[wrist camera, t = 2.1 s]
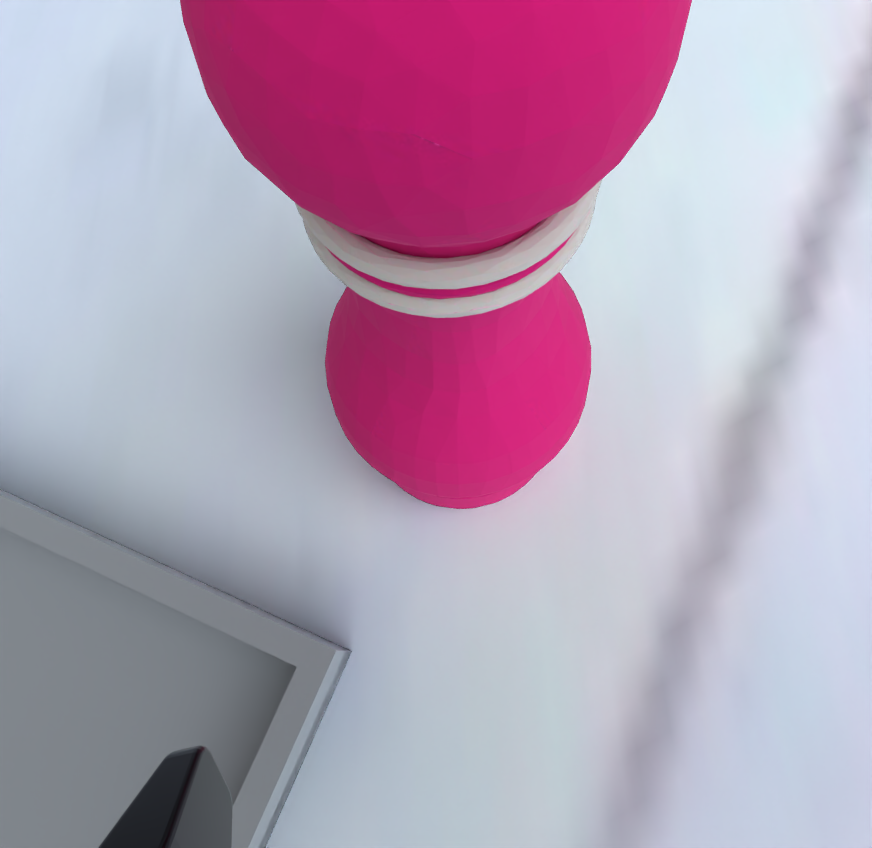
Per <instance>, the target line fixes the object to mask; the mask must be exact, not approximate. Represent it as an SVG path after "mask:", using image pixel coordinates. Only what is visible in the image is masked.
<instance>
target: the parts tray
mask: <svg viewBox="0 0 872 848" xmlns="http://www.w3.org/2000/svg"><path fill="white" fill-rule="evenodd" d="M351 652H352V651H350V650H348V649H346V648H343V647H341V646H339V645H337V644H335V643H333V642H330V641H328V640H326V639H324V638H322V637H320V636H317V635H315V634H313V633H311V632H309V631H307V630H304V629H302V628H300V627H298V626H296V625H294V624H291V623H289V622H287V621H285V620H283V619H281V618H278V617H276V616H274V615H272V614H270V613H268V612H265V611H263V610H261V609H259V608H257V607H255V606H252V605H250V604H248V603H246V602H244V601H242V600H239V599H237V598H235V597H233V596H231V595H229V594H226V593H224V592H222V591H220V590H218V589H216V588H213V587H211V586H209V585H207V584H205V583H203V582H200V581H198V580H196V579H194V578H192V577H190V576H187V575H185V574H183V573H181V572H179V571H177V570H174V569H172V568H170V567H168V566H166V565H164V564H161V563H159V562H157V561H155V560H153V559H151V558H148V557H146V556H144V555H142V554H140V553H138V552H135V551H133V550H131V549H129V548H127V547H125V546H122V545H120V544H118V543H116V542H114V541H112V540H109V539H107V538H105V537H103V536H101V535H99V534H96V533H94V532H92V531H90V530H88V529H86V528H83V527H81V526H79V525H77V524H75V523H73V522H70V521H68V520H66V519H64V518H62V517H60V516H57V515H55V514H53V513H51V512H49V511H47V510H45V509H42V508H40V507H38V506H36V505H34V504H32V503H29V502H27V501H25V500H23V499H21V498H19V497H16V496H14V495H12V494H10V493H8V492H6V491H3V490H1V489H0V848H98V847H99V845H100V844H101V843H102V841H103V840H104V839H105V837H106V836H107V835H108V833H109V832H110V831H111V829H112V828H113V827H114V825H115V824H116V822H117V821H118V820H119V818H120V817H121V816H122V814H123V813H124V812H125V810H126V809H127V808H128V806H129V805H130V804H131V802H132V801H133V800H134V798H135V797H136V795H137V794H138V793H139V791H140V790H141V789H142V787H143V786H144V785H145V783H146V782H147V781H148V779H149V778H150V777H151V775H152V774H153V772H154V771H155V770H156V768H157V767H158V766H159V764H160V763H161V762H162V760H163V759H164V758H165V757H166V756H167V755H168V754H169V753H171V752H173V751H177V750H181V749H185V748H190V747H194V746H198V745H203V746H206V747H207V748H208V749H209V750H210V752H211V753H212V756H213V758H214V760H215V762H216V764H217V766H218V768H219V770H220V772H221V774H222V776H223V778H224V780H225V782H226V784H227V786H228V788H229V790H230V794H231V798H232V807H233V818H232V848H265V847H266V844H267V842H268V840H269V837H270V835H271V833H272V831H273V828H274V826H275V824H276V822H277V819H278V817H279V815H280V813H281V810H282V808H283V806H284V804H285V801H286V799H287V797H288V794H289V792H290V790H291V788H292V785H293V783H294V781H295V779H296V776H297V774H298V772H299V770H300V767H301V765H302V763H303V760H304V758H305V756H306V754H307V751H308V749H309V747H310V745H311V742H312V740H313V738H314V736H315V733H316V731H317V729H318V726H319V724H320V722H321V720H322V717H323V715H324V713H325V711H326V708H327V706H328V704H329V702H330V699H331V697H332V695H333V692H334V690H335V688H336V686H337V683H338V681H339V679H340V677H341V674H342V672H343V670H344V668H345V665H346V663H347V661H348V658H349V656H350V654H351Z"/></svg>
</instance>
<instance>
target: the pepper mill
mask: <svg viewBox="0 0 872 848" xmlns="http://www.w3.org/2000/svg"><path fill="white" fill-rule="evenodd" d="M691 2H692V0H180V3H181V9H182V16H183V22H184V25H185V28H186V31H187V34H188V37H189V41H190V44H191V47H192V50H193V53H194V56H195V59H196V62H197V65H198V68H199V71H200V74H201V77H202V81H203V84H204V87H205V90H206V93H207V95H208V97H209V99H210V101H211V103H212V104H213V106H214V108H215V110H216V112H217V114H218V116H219V118H220V119H221V121H222V123H223V125H224V126H225V128H226V129H227V131H228V132H229V134H230V136H231V137H232V139H233V140H234V142H235V143H236V145H237V147H238V148H239V150H240V151H241V153H242V155H243V156H244V158H245V159H246V160H247V161H249V162H250V163H251V164H252V165H253V166H254V167H255V168H257V169H258V170H259V171H260V172H261V173H262V174H263V175H264V176H266V177H267V178H268V179H269V180H270V181H271V182H272V183H274V184H275V185H276V186H277V187H278V188H279V189H280V190H282V191H283V192H284V193H285V194H286V195H287V196H288V197H290V198H291V199H292V200H293V201H294V202H295V204H296V206H297V209H298V211H299V213H300V215H301V217H302V218H303V222H304V226H305V229H306V232H307V234H308V237H309V239H310V241H311V243H312V245H313V247H314V249H315V251H316V253H317V254H318V256H319V257H320V259H321V260H322V262H323V263H324V264H325V265H326V267H327V268H328V269H329V270H330V271H331V272H332V273H333V274H334V275H335V276H336V277H337V278H338V279H339V280H340V281H342V282H343V283H344V284H345V285H346V286H347V288H346V289H345V291H344V293H343V295H342V296H341V298H340V300H339V302H338V303H337V305H336V308H335V311H334V313H333V316H332V319H331V322H330V327H329V334H328V340H327V348H326V357H325V367H326V377H327V386H328V390H329V393H330V397H331V400H332V403H333V407H334V410H335V413H336V416H337V418H338V420H339V422H340V425H341V427H342V429H343V431H344V433H345V435H346V437H347V438H348V440H349V441H350V443H351V444H352V445H353V447H354V448H355V450H356V451H357V452H358V453H359V454H360V455H361V456H362V457H363V458H364V459H365V460H366V461H367V462H368V463H369V464H370V465H371V466H372V467H373V468H375V469H376V470H377V471H379V472H380V473H382V474H383V475H384V476H386V477H387V478H389V479H390V480H392V481H394V482H395V483H396V484H397V485H398V486H400V487H401V488H402V489H403V490H404V491H406V492H407V493H409V494H411V495H412V496H414V497H415V498H417V499H419V500H422V501H424V502H427V503H429V504H433V505H436V506H442V507H449V508H456V509H466V508H476V507H480V506H484V505H488V504H492V503H495V502H498V501H500V500H502V499H504V498H506V497H508V496H510V495H512V494H514V493H515V492H516V491H518V490H519V489H520V488H522V487H523V486H524V485H525V484H526V483H527V482H528V481H529V480H530V479H531V478H532V477H533V476H534V475H535V474H536V473H537V472H538V471H539V470H540V469H542V468H543V467H544V466H545V465H546V464H547V463H549V462H550V461H551V460H552V459H553V458H554V457H555V456H556V455H557V454H558V453H559V451H560V450H561V449H562V448H563V447H564V445H565V444H566V443H567V442H568V440H569V438H570V437H571V435H572V433H573V431H574V430H575V428H576V426H577V424H578V422H579V419H580V417H581V414H582V411H583V408H584V406H585V401H586V396H587V390H588V385H589V380H590V374H591V345H590V341H589V336H588V332H587V328H586V323H585V319H584V316H583V312H582V309H581V306H580V304H579V302H578V300H577V298H576V296H575V294H574V292H573V290H572V289H571V287H570V286H569V284H568V283H567V281H566V280H565V279H564V277H563V276H562V275H561V273H560V271H561V270H562V268H563V267H564V266H565V265H566V264H567V262H568V261H569V260H570V259H571V258H572V256H573V255H574V253H575V252H576V250H577V249H578V247H579V246H580V244H581V243H582V241H583V239H584V237H585V235H586V233H587V230H588V228H589V226H590V222H591V219H592V216H593V212H594V209H595V202H596V197H597V194H598V191H599V187H600V184H601V181H602V179H603V178H604V177H605V176H606V175H607V174H608V173H609V172H610V171H611V170H612V169H614V168H615V167H616V166H617V165H618V164H619V163H620V162H621V160H622V159H623V158H624V156H625V155H626V154H627V152H628V151H629V150H630V148H631V147H632V146H633V144H634V143H635V142H636V140H637V139H638V137H639V136H640V135H641V133H642V132H643V131H644V129H645V128H646V127H647V125H648V124H649V123H650V121H651V120H652V119H653V117H654V116H655V113H656V111H657V109H658V107H659V104H660V102H661V100H662V98H663V95H664V93H665V91H666V88H667V86H668V83H669V81H670V78H671V75H672V73H673V70H674V68H675V65H676V62H677V60H678V56H679V51H680V47H681V43H682V39H683V35H684V31H685V27H686V23H687V19H688V14H689V10H690V6H691Z"/></svg>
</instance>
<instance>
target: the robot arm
mask: <svg viewBox="0 0 872 848" xmlns="http://www.w3.org/2000/svg"><path fill="white" fill-rule="evenodd" d="M232 818H233V807H232V798H231V794H230V790H229V788H228V786H227V784H226V782H225V780H224V778H223V776H222V774H221V772H220V770H219V768H218V766H217V764H216V762H215V760H214V758H213V756H212V753H211V752H210V750H209V749H208V748H207V747H206V746H203V745H198V746H194V747H190V748H185V749H181V750H177V751H173V752H171V753H169V754H168V755H167V756H166V757H165V758H164V759H163V760H162V762H161V763H160V764H159V766H158V767H157V768H156V770H155V771H154V772H153V774H152V775H151V777H150V778H149V779H148V781H147V782H146V783H145V785H144V786H143V787H142V789H141V790H140V791H139V793H138V794H137V795H136V797H135V798H134V800H133V801H132V802H131V804H130V805H129V806H128V808H127V809H126V810H125V812H124V813H123V814H122V816H121V817H120V818H119V820H118V821H117V822H116V824H115V825H114V827H113V828H112V829H111V831H110V832H109V833H108V835H107V836H106V837H105V839H104V840H103V841H102V843H101V844H100V845H99V847H98V848H232Z"/></svg>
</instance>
